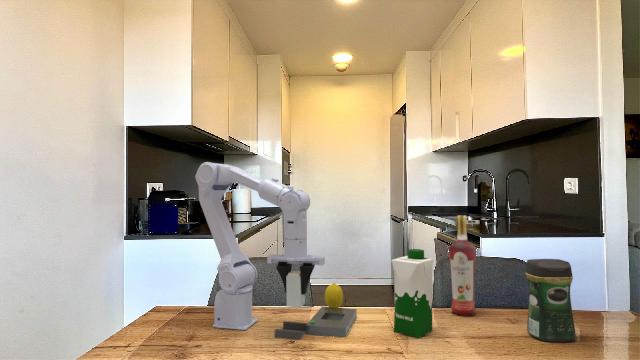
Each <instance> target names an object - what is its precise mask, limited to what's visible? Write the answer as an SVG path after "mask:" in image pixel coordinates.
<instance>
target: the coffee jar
mask: <svg viewBox="0 0 640 360" xmlns="http://www.w3.org/2000/svg"><path fill="white" fill-rule="evenodd" d="M525 266H526V267H525V278H526V279H527V282H528V287H529V288H528V291H529V293H528V294H529V297H528V308H527V311H528V312H527V324H526V325H527V326H526V327H527V328H526V330H527V332H528V333H529V335H530V336H531V337H534V339H539V340H541V341H544V342H570V341H571V342H572V341H575V339H576V329H575V328H576V327H575V321H574V316H573V308H572V299H571V286H572V283H573V279H574V276H573V272H572V265H571V264H570V262H569V261H566V260H563V259H559V258H535V259H534V258H533V259H527V260H526V263H525Z"/></svg>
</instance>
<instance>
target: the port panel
mask: <svg viewBox="0 0 640 360" xmlns="http://www.w3.org/2000/svg"><path fill="white" fill-rule="evenodd" d="M357 312H358V311H357V308H348V307H347V308H346V307H338V308H335V307H328V306H321V307H320V308H319V310H318V311H317V312H316V313H315V314H314V315H313V317H312V318H311V319H310V320H309V321H308V322H306V323H307V325H306V333H305V335H308V336H309V335H311V336H320V337H321V336H322V337H330V336H332V337H333V336H334V337H333V338H341V337H346V336H348V335H349V333H350V331H351V329H352V327H353V325H354V323H355V321H354V320H356V319H357V318H358V317H357V314H358V313H357ZM353 322H354V323H353ZM352 324H353V325H352ZM351 326H352V327H351ZM350 328H351V329H350ZM349 330H350V331H349ZM348 332H349V333H348ZM347 334H348V335H347ZM346 338H347V337H346Z"/></svg>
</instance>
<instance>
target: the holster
mask: <svg viewBox="0 0 640 360" xmlns="http://www.w3.org/2000/svg"><path fill="white" fill-rule="evenodd" d="M307 323H308V322H297V321H290V320H289V321H288V320H287V321H286V320H284V321H283V322H282V327H283V328H275V329H274V338H277V339H288V340H298V341H301V339H303V337H304V336H305V335H306V325H307Z"/></svg>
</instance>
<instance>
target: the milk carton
mask: <svg viewBox="0 0 640 360" xmlns="http://www.w3.org/2000/svg"><path fill="white" fill-rule="evenodd" d="M390 262H391V265H392V269H393V274H394V276H393V278H394V285H393V286H394V289H393V290H394V318H393V332H394V333H395V332H396V333H399V334H401V335H402V334H403V335H405V336H410V337H413V338H417V339H420V338H422V337H423V336H425V335H427V334H429V333H431V332H432V331H433V265H434V264H433V263H434V258H428V257H425V249H421V248H420V249H419V248H411V249H410V248H409V249H408V250H407V255H404V256H401V257H396V258H393V259H391V261H390Z"/></svg>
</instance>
